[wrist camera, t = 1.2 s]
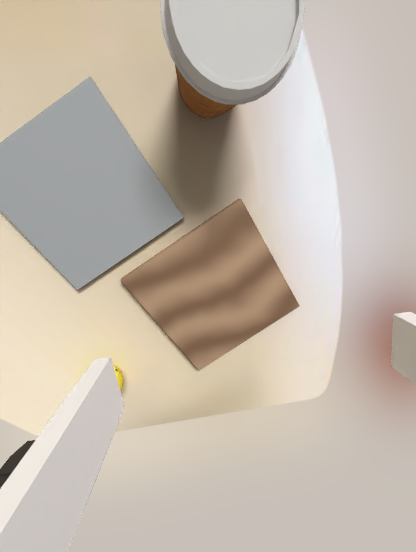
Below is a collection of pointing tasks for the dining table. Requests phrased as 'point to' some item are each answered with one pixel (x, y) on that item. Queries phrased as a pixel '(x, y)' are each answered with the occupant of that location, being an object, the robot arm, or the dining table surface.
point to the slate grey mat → (81, 186)
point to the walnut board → (213, 286)
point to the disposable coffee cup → (230, 48)
